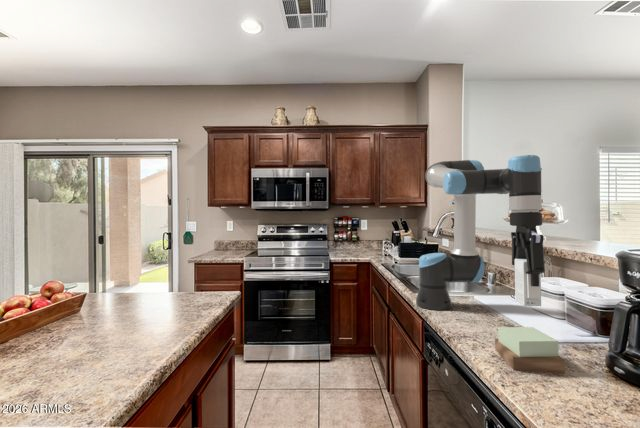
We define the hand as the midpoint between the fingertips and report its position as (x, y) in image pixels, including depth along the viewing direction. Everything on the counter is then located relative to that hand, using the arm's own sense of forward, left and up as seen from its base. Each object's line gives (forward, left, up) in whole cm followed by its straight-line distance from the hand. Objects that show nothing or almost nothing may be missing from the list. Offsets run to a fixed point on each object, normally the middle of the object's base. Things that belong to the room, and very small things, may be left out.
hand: (527, 294), depth 84 cm
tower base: (0, 0, -19) cm, 19 cm away
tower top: (0, -1, -15) cm, 15 cm away
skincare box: (0, 0, -3) cm, 3 cm away
